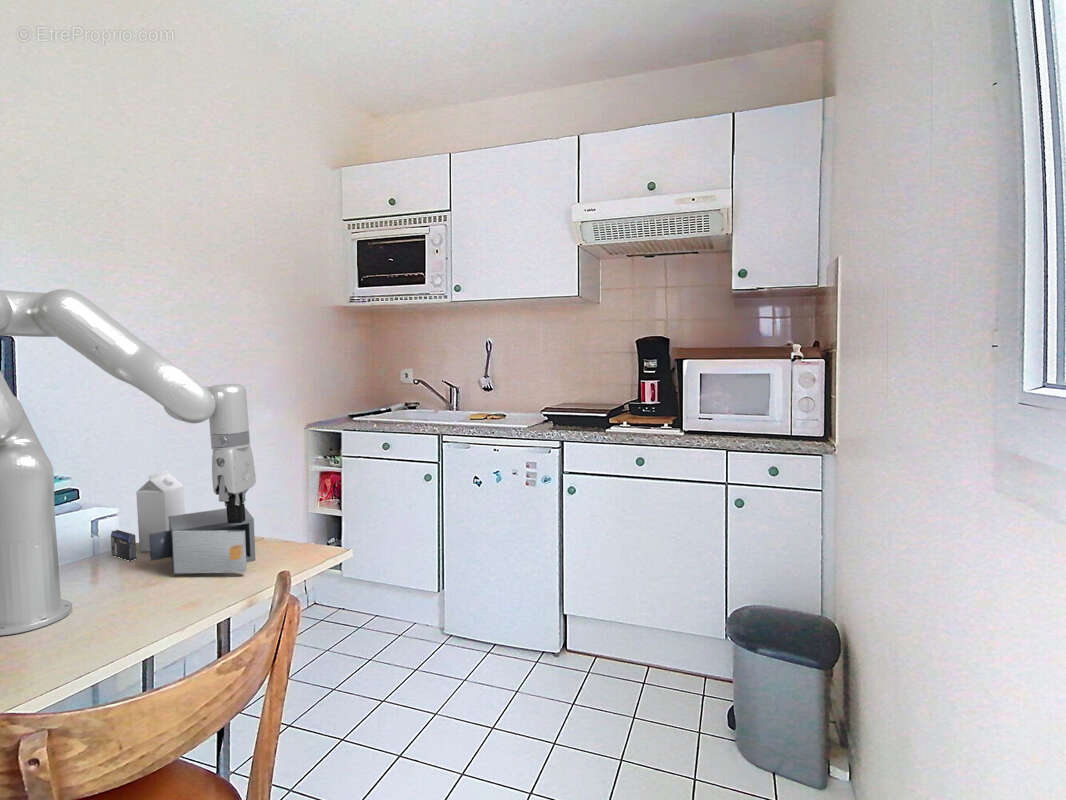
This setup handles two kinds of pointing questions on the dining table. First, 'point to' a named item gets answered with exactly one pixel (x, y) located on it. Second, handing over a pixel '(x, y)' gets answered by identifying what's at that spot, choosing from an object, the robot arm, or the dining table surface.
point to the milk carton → (158, 505)
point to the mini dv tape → (123, 545)
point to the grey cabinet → (200, 522)
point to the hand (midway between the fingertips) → (236, 521)
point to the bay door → (209, 551)
